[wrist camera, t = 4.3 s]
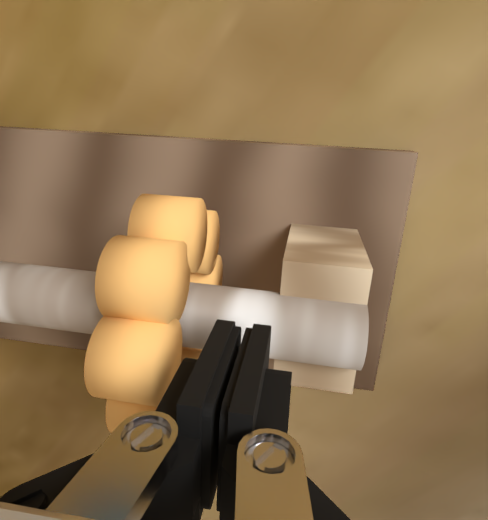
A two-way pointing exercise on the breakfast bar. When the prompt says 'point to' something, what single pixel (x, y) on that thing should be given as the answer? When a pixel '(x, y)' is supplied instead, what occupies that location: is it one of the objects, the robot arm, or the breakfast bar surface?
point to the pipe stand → (230, 242)
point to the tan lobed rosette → (148, 301)
